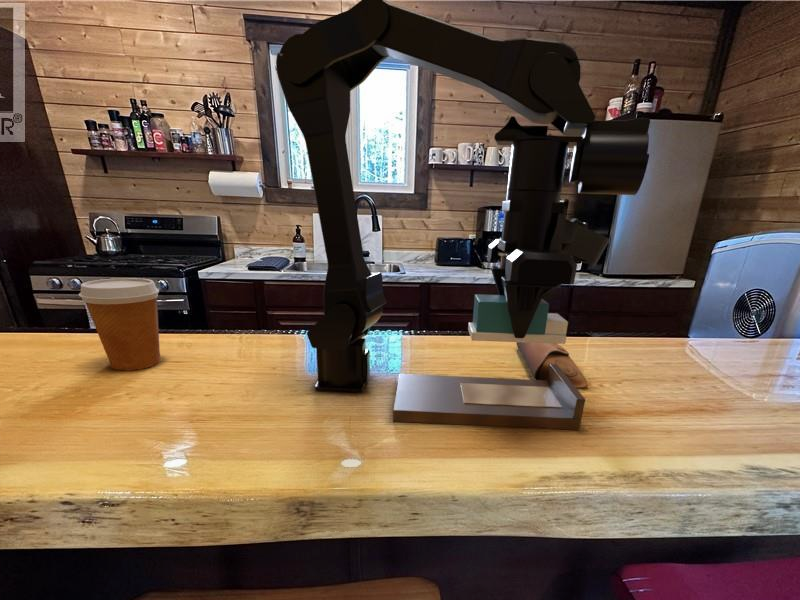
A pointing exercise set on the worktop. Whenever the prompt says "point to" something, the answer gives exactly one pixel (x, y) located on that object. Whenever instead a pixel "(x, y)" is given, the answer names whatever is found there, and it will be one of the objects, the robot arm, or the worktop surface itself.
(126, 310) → the disposable coffee cup
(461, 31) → the robot arm
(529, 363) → the sunglasses case
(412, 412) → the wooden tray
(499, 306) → the teal block
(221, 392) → the worktop surface
